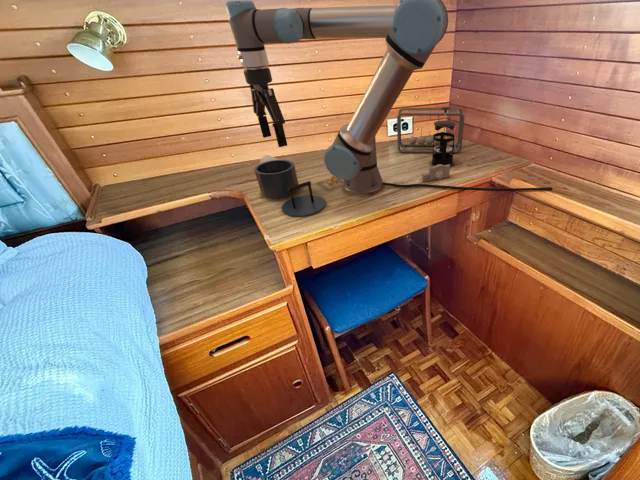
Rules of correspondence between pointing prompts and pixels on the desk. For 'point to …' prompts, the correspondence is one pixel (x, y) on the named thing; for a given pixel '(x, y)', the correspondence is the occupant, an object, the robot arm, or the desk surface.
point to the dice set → (331, 181)
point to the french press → (443, 142)
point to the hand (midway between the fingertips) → (275, 141)
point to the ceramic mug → (267, 159)
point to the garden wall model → (433, 170)
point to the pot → (276, 178)
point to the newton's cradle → (429, 139)
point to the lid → (303, 203)
